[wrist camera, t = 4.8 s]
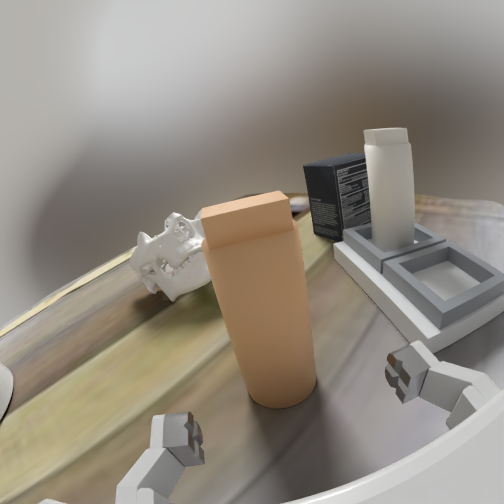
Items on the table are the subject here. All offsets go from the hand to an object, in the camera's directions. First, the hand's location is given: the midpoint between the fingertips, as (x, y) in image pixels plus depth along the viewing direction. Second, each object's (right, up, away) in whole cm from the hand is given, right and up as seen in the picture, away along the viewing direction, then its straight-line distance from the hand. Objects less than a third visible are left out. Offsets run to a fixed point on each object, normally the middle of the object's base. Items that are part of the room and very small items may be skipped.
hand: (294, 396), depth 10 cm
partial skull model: (-8, +1, +25) cm, 26 cm away
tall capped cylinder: (0, -3, +8) cm, 9 cm away
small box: (+13, +9, +31) cm, 35 cm away
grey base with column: (+15, +3, +15) cm, 21 cm away
